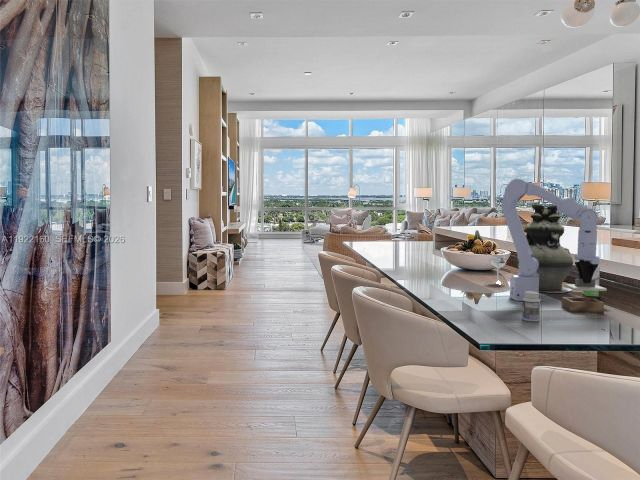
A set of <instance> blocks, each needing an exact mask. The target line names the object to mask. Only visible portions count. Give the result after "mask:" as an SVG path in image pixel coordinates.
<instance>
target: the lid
mask: <svg viewBox="0 0 640 480" xmlns="http://www.w3.org/2000/svg"><path fill="white" fill-rule="evenodd" d="M563 287H564V288H570V289H572V291H581V290H583V291H599V292H607V290H608V289H607V288H606V287H603V286H600V285H599V286H597V285H595V279H592V280H591V283H583V279H580V278H574V283H569V284H568V283H564V284H563Z"/></svg>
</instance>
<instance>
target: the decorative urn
mask: <svg viewBox="0 0 640 480" xmlns="http://www.w3.org/2000/svg"><path fill="white" fill-rule="evenodd" d="M531 208H532V209H533V210H534V213H532V214H530V218H531V219H532V221H530V222H528V223H527V224H526V225H525V229H524V231H525V235H526V238H527V241H528V244H529V246H530V249H531V251H532V253H533V255H534V257H535V258H536V259H537V260H538V262H539V267H538V269H537V271H536V272H537V273H538V274H539V293H540V292H541V293H549V294H550V293H551V294H555V293H557V294H559V293H560V294H564V293H569V292H572V291H573V290H572V289H570V288H567V287H565V286H563V283H564V281H565V279H566V278H567V277H568V276H569V274H570V272H571V269H572V267H573V264H574V260H573V257H572V255H571V252H570V249H569V248H567V247H563V246H561V243H560V242H561V240H560V239H561V237H562V236H564V235H563V234H565V227H564V226H563V224H562V223H560V222H559V220H560V219H561V215H559V214H558V213H557V212H558V209H557V206H556V205H554V204H553V205H548V206H547V207H545V206H544V205H542V204H531ZM516 265H517V267H518V266H519V259H518V256H517V258H516Z"/></svg>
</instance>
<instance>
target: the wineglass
mask: <svg viewBox="0 0 640 480" xmlns="http://www.w3.org/2000/svg"><path fill="white" fill-rule="evenodd" d="M490 257H491V258H490V263H491V265H492V266H493V267H495V268H496V269H497V270H496V278H497V279H496V281H491V283H492V284H499V285H501V284H504V282H502V281H499V274H500V269H501V268H503V267H504V266H505V265H507V261H508V260H507V255H501V254H495V255H494V254H493V255H490Z"/></svg>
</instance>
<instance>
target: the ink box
mask: <svg viewBox="0 0 640 480" xmlns="http://www.w3.org/2000/svg"><path fill="white" fill-rule="evenodd" d="M600 268H601V267H600V266H599V265H598V267H597V268H596V270H595V272H594V274H593V277H592V279H595V285H597V286H600V273H601V272H600ZM580 291H581V292H580V293H581V294H583V295H584V296H585V297H599V296H600V291H583V290H580Z"/></svg>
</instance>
